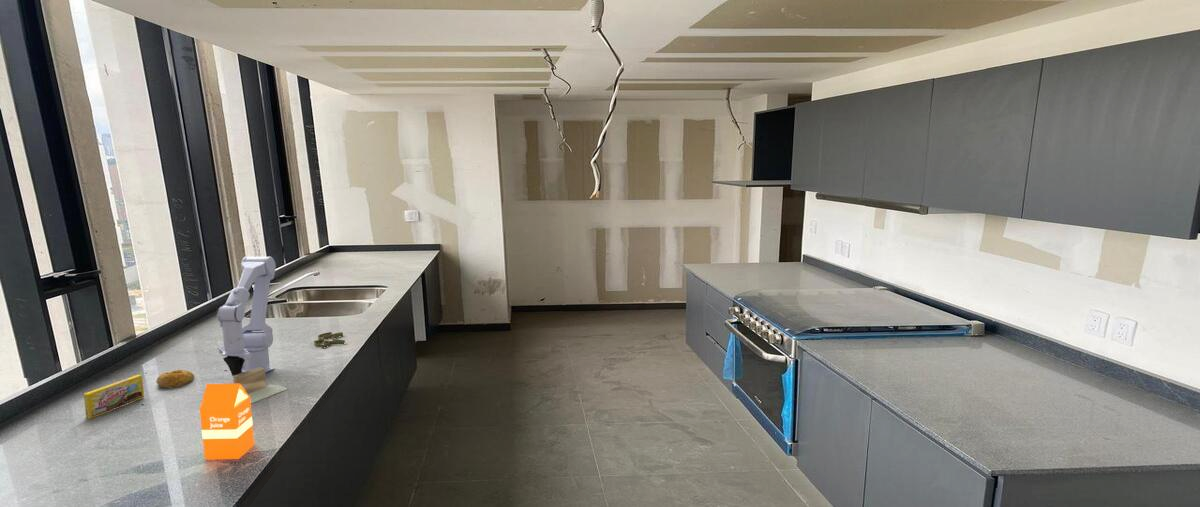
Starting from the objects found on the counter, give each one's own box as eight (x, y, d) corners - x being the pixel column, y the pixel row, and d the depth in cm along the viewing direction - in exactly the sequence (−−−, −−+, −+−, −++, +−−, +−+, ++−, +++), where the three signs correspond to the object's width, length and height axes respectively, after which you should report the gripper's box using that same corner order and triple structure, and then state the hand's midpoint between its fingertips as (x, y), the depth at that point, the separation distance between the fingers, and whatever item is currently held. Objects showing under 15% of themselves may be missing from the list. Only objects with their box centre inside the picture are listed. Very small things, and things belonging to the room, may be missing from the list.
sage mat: (235, 399, 179) (235, 398, 179) (272, 385, 191) (272, 384, 191) (250, 403, 176) (250, 403, 176) (287, 389, 188) (287, 388, 188)
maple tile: (234, 395, 183) (232, 376, 181) (260, 385, 191) (258, 367, 190) (240, 397, 181) (238, 377, 180) (266, 387, 190) (264, 368, 188)
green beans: (345, 346, 234) (345, 342, 234) (314, 350, 228) (314, 345, 228) (343, 334, 250) (342, 330, 249) (314, 338, 244) (314, 334, 244)
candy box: (91, 419, 163) (87, 394, 162) (85, 419, 164) (81, 393, 163) (145, 397, 179) (142, 374, 178) (140, 397, 180) (137, 373, 178)
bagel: (201, 380, 194) (199, 367, 194) (166, 391, 185) (165, 378, 184) (185, 375, 198) (183, 363, 198) (150, 386, 189) (148, 373, 188)
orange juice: (222, 444, 151) (215, 378, 148) (254, 444, 152) (248, 377, 148) (204, 459, 143) (196, 389, 140) (238, 459, 144) (232, 389, 141)
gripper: (208, 338, 185) (211, 375, 187) (234, 345, 179) (238, 383, 182) (229, 333, 192) (232, 369, 194) (255, 339, 186) (258, 376, 188)
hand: (236, 375), depth 188 cm, fingers closed
